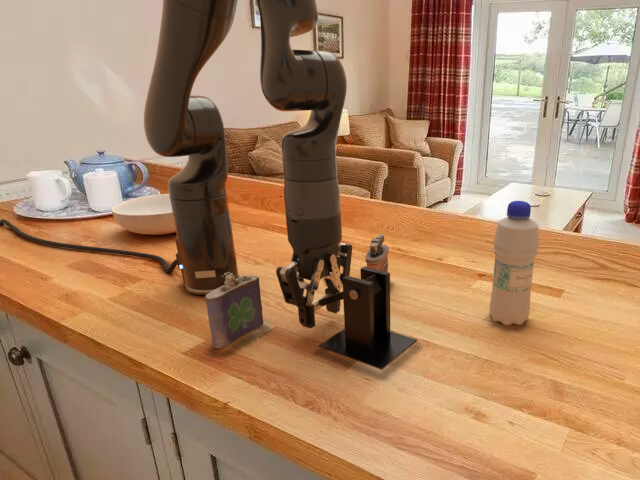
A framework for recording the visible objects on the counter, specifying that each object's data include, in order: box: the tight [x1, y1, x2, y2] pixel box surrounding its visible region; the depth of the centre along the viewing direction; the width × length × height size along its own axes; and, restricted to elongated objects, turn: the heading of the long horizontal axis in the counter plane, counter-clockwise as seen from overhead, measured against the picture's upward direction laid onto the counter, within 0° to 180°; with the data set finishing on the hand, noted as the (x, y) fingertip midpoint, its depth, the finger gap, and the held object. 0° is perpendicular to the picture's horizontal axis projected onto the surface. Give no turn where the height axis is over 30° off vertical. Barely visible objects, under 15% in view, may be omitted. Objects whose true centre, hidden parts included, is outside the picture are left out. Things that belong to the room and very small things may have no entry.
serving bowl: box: [110, 193, 176, 236], centre depth 122 cm, size 21×21×7 cm
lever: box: [312, 274, 382, 313], centre depth 70 cm, size 12×5×2 cm, turn 58°
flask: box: [204, 272, 264, 349], centre depth 71 cm, size 9×3×11 cm, turn 151°
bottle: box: [489, 200, 540, 326], centre depth 75 cm, size 7×7×20 cm
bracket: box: [318, 266, 418, 370], centre depth 69 cm, size 11×9×12 cm
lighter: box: [364, 233, 390, 272], centre depth 89 cm, size 8×3×10 cm, turn 168°
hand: (320, 318), depth 74 cm, fingers closed on lever, 5 cm apart
